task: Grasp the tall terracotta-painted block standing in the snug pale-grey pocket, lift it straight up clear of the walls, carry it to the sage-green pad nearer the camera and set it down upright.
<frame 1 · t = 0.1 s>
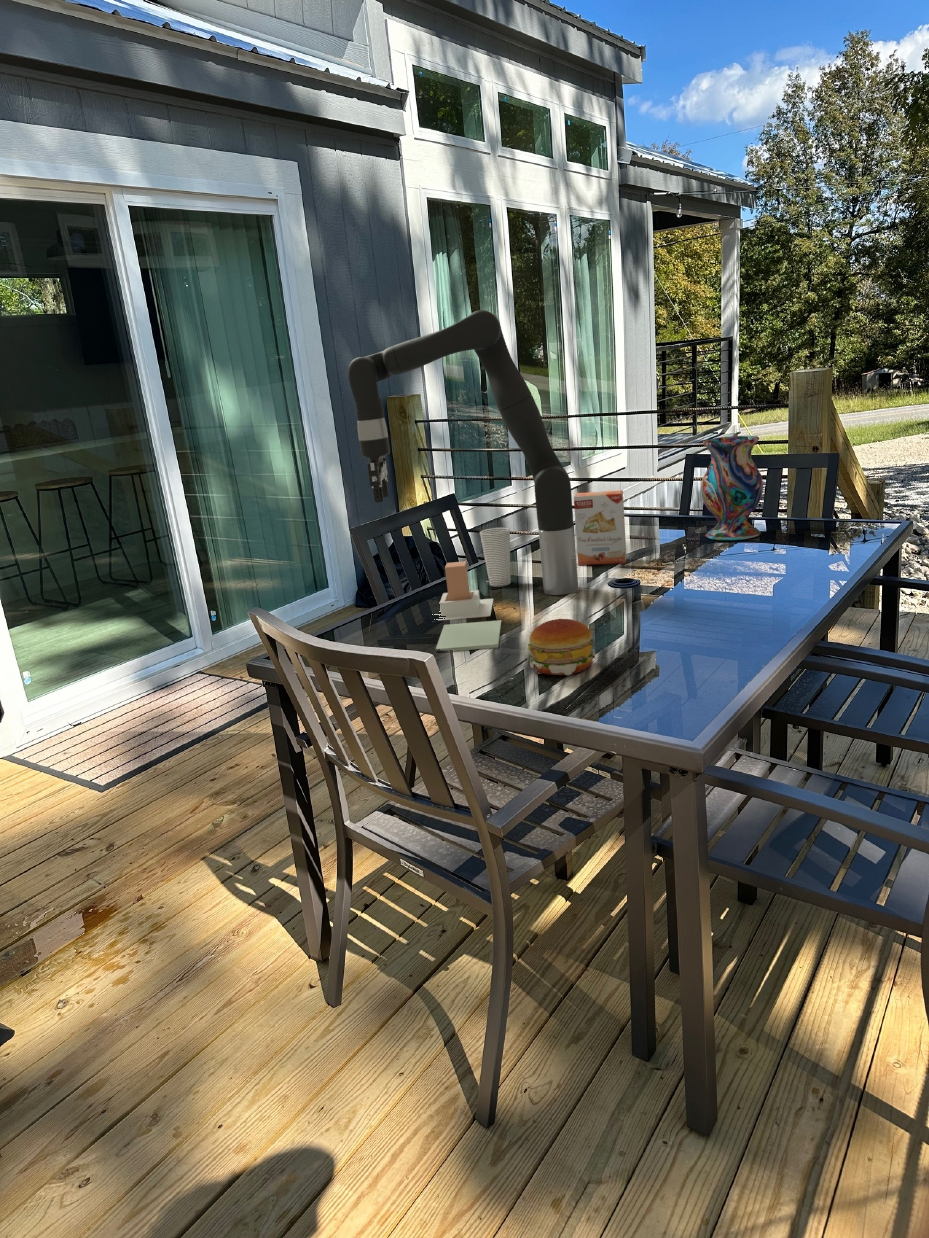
hand: (382, 499, 227), 29 cm above the table, fingers open, 8 cm apart
cracker box: (602, 563, 255), on the table
part: (461, 609, 221), point 1 cm above the table, touching pocket
burger: (563, 669, 174), on the table
vase: (732, 536, 270), on the table
pocket: (461, 611, 222), on the table
cup: (500, 584, 245), on the table
mat: (470, 637, 200), on the table
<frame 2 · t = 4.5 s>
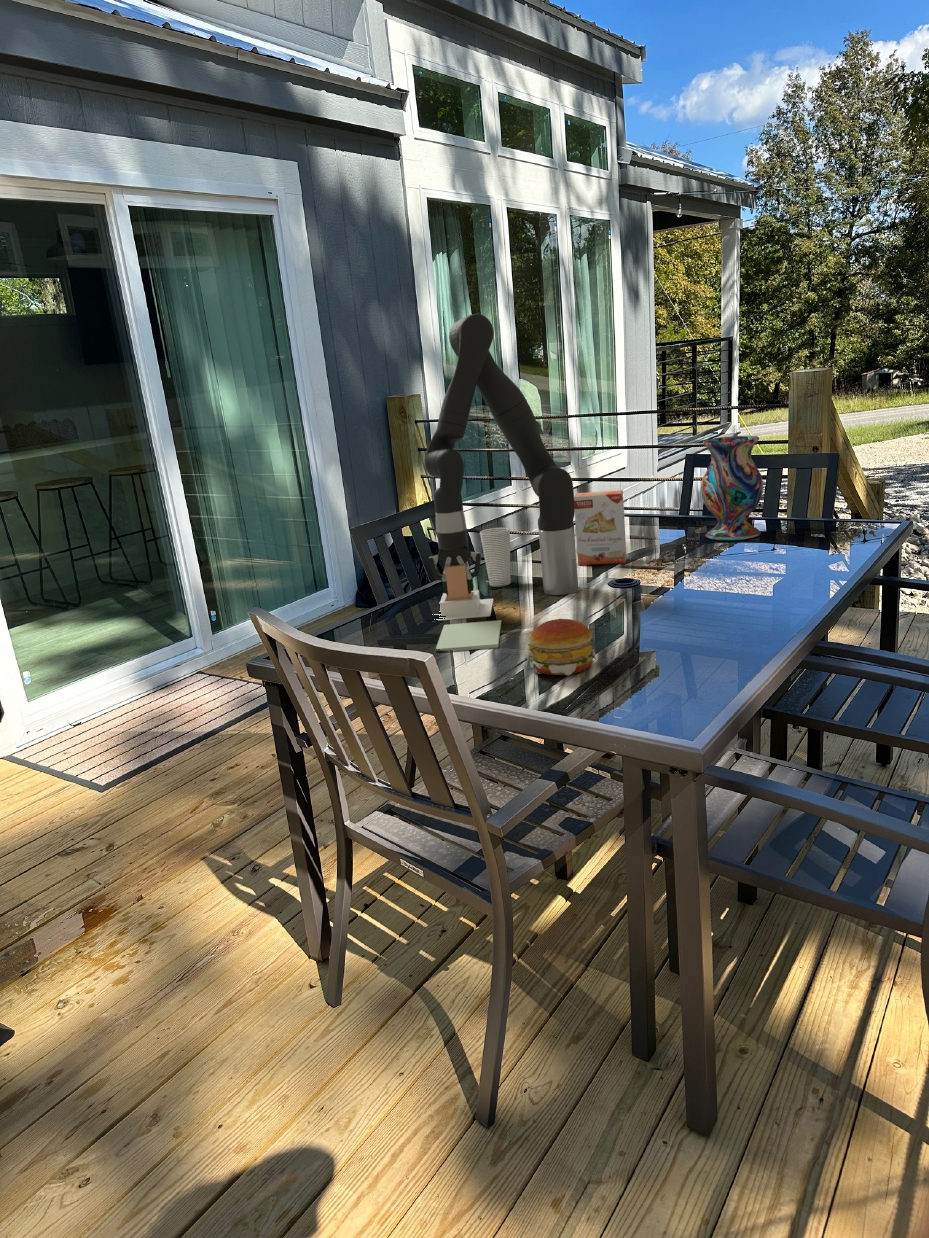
hand: (459, 593, 220), 5 cm above the table, fingers closed on part, 5 cm apart
part: (461, 609, 221), point 1 cm above the table, touching gripper, pocket
everything else where it was.
when the fingers open (6 cm above the table, at t = 13.2 s): part stays where it is, resting on mat.
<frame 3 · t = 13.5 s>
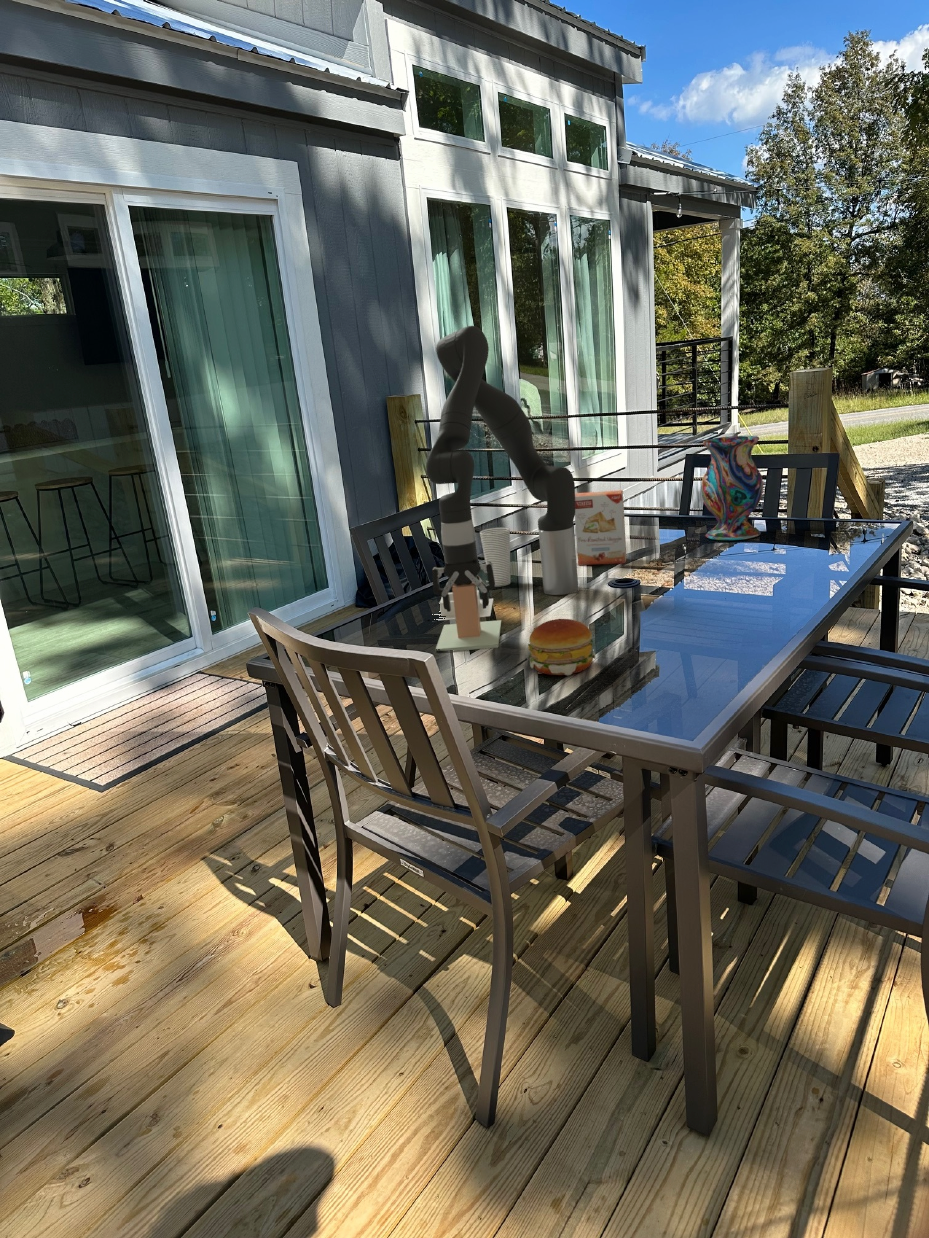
hand: (466, 609, 198), 7 cm above the table, fingers open, 8 cm apart
part: (469, 633, 200), point 1 cm above the table, touching mat
everything else where it was.
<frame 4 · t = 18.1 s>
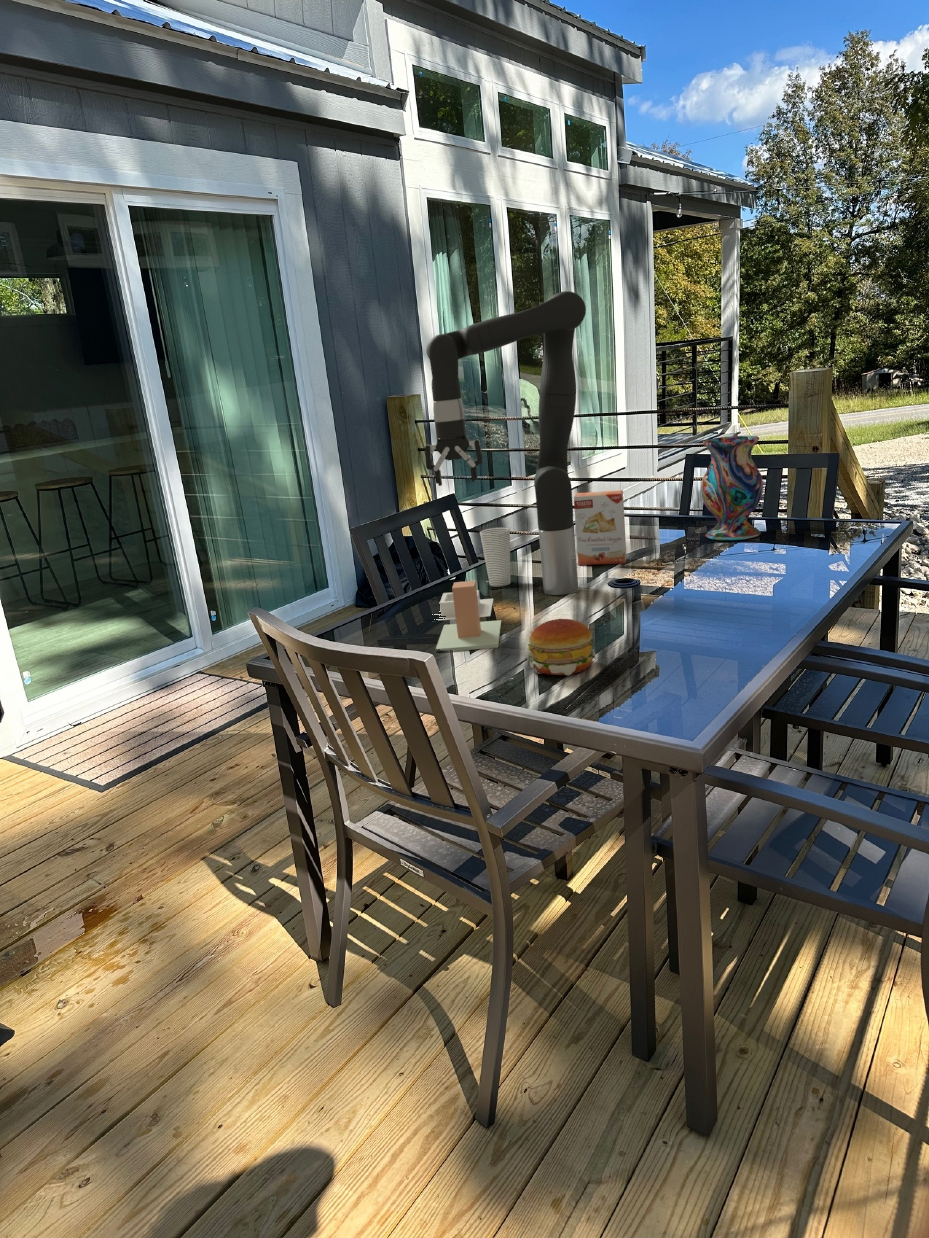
hand: (456, 483, 218), 32 cm above the table, fingers open, 8 cm apart
nothing on the table moved.
at the end: part 0.1 cm from the mat (horizontally); part tilted 0°; the gripper is holding nothing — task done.
